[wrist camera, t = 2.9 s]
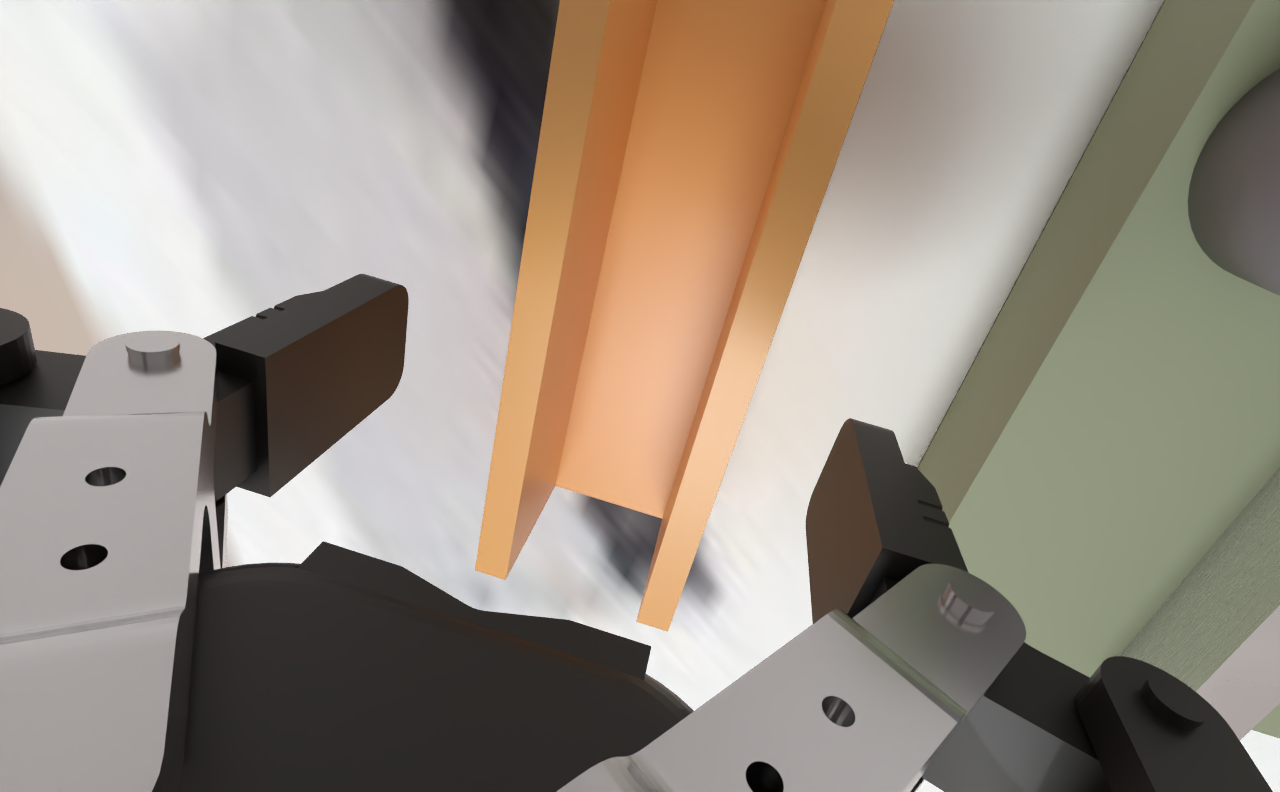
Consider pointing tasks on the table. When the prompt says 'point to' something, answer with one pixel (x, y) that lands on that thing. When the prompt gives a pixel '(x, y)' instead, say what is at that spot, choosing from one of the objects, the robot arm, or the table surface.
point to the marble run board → (1133, 349)
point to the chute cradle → (1227, 619)
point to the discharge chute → (664, 253)
